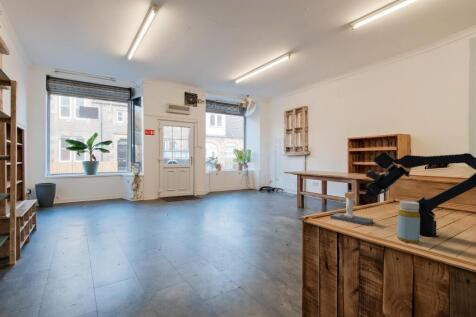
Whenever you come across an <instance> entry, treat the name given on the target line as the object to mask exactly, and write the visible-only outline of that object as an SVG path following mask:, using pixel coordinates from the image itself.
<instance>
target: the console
mask: <svg viewBox="0 0 476 317" xmlns="http://www.w3.org/2000/svg"><path fill="white" fill-rule="evenodd" d="M344 214H345V213H342V212H341V213H340V212H335V213H333V214H330V216H329V218H330V219H331V220H337V221H343V222H347V223H353V224H356V225H358V224H359V225H363V226H370V225H371V224H373V223H374V218H369V217H363V216H358V215H357V216H356V215H355V217H353V218H348V217H344Z"/></svg>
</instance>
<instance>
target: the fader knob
mask: <svg viewBox="0 0 476 317" xmlns="http://www.w3.org/2000/svg"><path fill="white" fill-rule="evenodd" d="M355 193H356V192H354V191H347V192H344V198H346V201H345V202H346V204H345V205H346V210H345V213H343V214H344V217H348V218H353V217H355V216H356V215H355V214H354V213H353V212H354V211H353V206H354V205H353V204H354V198H355Z"/></svg>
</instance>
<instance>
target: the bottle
mask: <svg viewBox="0 0 476 317" xmlns="http://www.w3.org/2000/svg"><path fill="white" fill-rule="evenodd" d="M396 230H397V235H396V236H397V239H398V241H401V242H405V243H408V244H418V243H419V242H420V236H421V235H420V214H419V203H417V202H415V201H411V200H410V201H409V200H400V201H399V211H398V213H397V229H396Z"/></svg>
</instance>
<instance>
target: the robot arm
mask: <svg viewBox="0 0 476 317" xmlns="http://www.w3.org/2000/svg"><path fill="white" fill-rule="evenodd" d="M372 160H373V162H374V164H375V165H377V166H378V167H379V168H381V169H382V170H387V171H385V173H379V172H376V170H375V171H374V170H372V169H368V170H367V171H366V172H365V177H367V178H369V179H372V180H373V181H371V182H368V183H367V184H366V188H367V189H366V192H365V193H364V194H363V196H362V197H361V200H362V201H367V200H369V199H372V198H375V197H378V196H379V195H383V194H385V193H386V192H388V191H389V190H390V187H391V186H393V185H394V184H395V183H396V182H398V181H399V180H400V179H401V178H402V177H403V176H405V177H407V178H409V177H411V174H410V173H411V170H407V169H413V168H418V167H423V166H428V165H429V166H431V165H452V164H453V165H454V164H466V165H467V166H468V167H470V168H471V169H474V170H475V172H474V173H473V174H471V175H470V176H469V177H468V178H467V179H464V180H462V181H461V182H459V183H457V184H455V185H452V186H451V187H449V188H447V189H445V190H443V191H441V192H439V193H438V194H436V195H434V196H431V197H428V198H427V197H426V196H425V195H424V196H422V197H421V198H420V199H416V200H415V201H414V202H417V203H419V214H420V236H422V237H431V238H432V237H435V238H440V237H439V234H437V220H435V218H436V213H434V210H435V209H436V208H437V207H438V206H440V205H442V204H444V203H446V202H448V201H450V200H452V199H454V198H456V197H458V196H460V195H462V194H465V193H466V192H469V191H470V190H472V189H475V188H476V156H473V154H471V153H470V152H469V153H468V152H466V153H465V152H464V153H459V154H457V153H456V154H443V155H427V156H424V155H414V154H413V155H411V154H407V155H403V156H402V157H401V158H393V157H392V156H391V155H390V154H389V153H388V152H387V151H383V152H382V153H380V154H379V155H377V156H376V157H375V158H374V159H372ZM398 165H400V166H398Z"/></svg>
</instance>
